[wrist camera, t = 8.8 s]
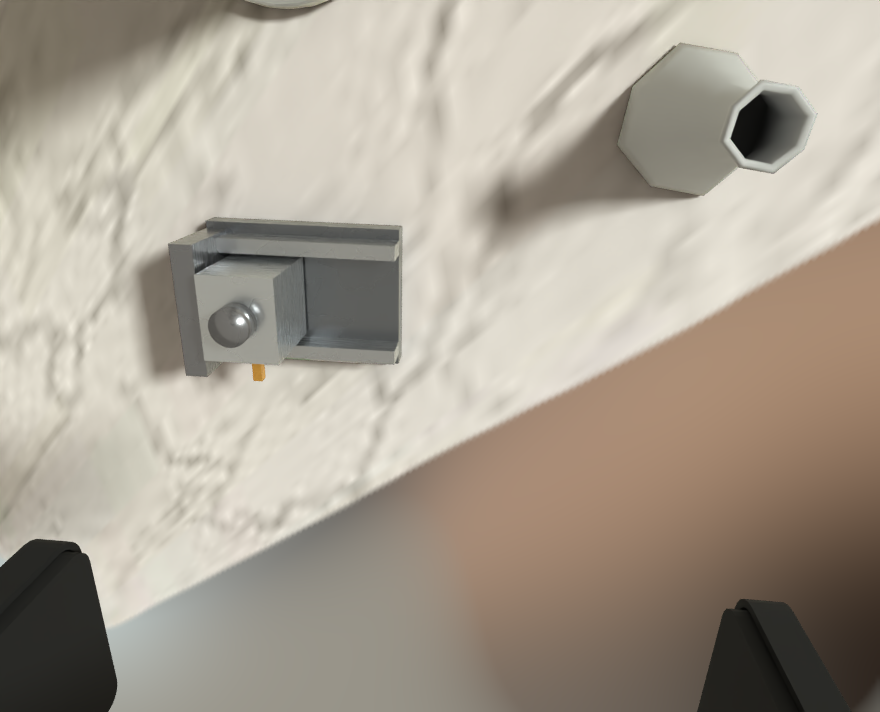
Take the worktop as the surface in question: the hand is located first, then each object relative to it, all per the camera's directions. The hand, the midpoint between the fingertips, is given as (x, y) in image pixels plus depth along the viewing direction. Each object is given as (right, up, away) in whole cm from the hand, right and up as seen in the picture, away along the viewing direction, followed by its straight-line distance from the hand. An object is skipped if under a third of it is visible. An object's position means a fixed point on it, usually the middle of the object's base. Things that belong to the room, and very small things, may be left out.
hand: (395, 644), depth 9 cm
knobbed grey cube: (-9, +7, +27) cm, 30 cm away
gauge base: (-7, +8, +28) cm, 30 cm away
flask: (+14, +16, +23) cm, 31 cm away
